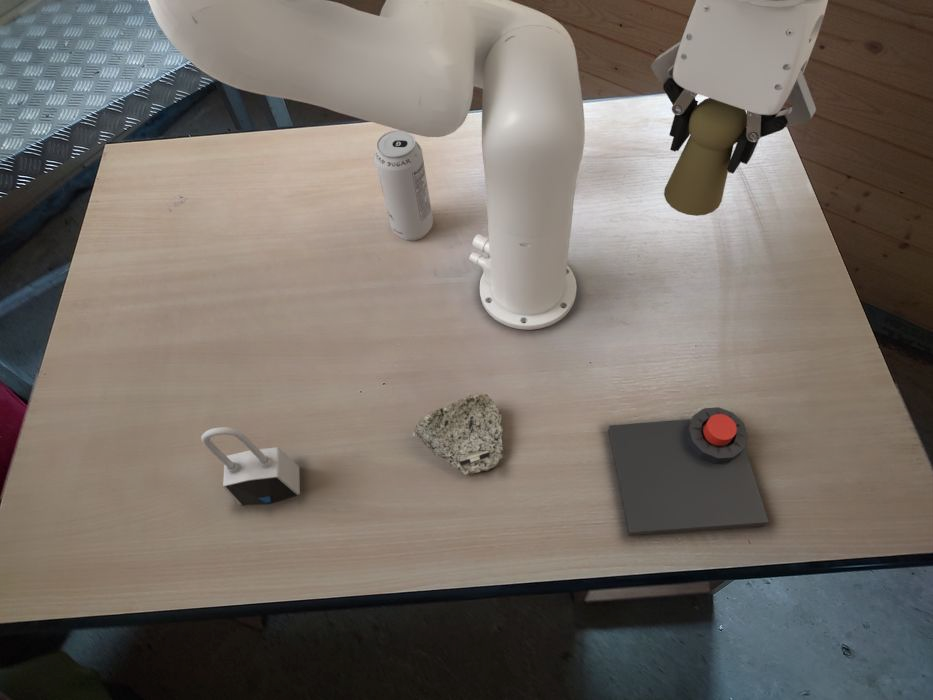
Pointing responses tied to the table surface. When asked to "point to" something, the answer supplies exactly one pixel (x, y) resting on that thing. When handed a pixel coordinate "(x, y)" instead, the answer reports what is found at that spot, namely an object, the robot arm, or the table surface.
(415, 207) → the energy drink can
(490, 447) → the rock sample
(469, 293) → the table surface
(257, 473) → the padlock
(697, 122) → the pawn game piece
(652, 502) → the grey flat block
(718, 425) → the tare button
